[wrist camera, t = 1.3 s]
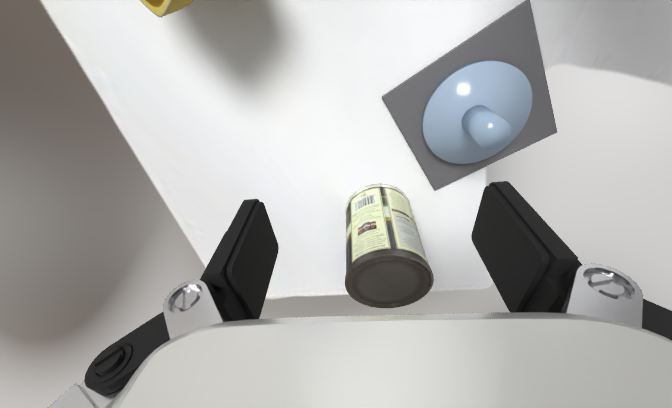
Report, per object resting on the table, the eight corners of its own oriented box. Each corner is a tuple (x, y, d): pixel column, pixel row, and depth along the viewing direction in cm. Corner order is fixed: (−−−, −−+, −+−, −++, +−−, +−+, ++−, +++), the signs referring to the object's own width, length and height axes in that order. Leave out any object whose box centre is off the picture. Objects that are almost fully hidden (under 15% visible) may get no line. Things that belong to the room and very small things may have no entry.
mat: (527, -1, 25) (529, -1, 25) (555, 130, 33) (557, 132, 33) (381, 96, 31) (382, 97, 31) (434, 188, 39) (434, 190, 39)
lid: (512, 33, 27) (548, 40, 22) (536, 127, 32) (570, 149, 28) (404, 102, 31) (415, 120, 26) (442, 174, 37) (457, 200, 32)
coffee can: (382, 241, 46) (394, 317, 35) (333, 216, 43) (328, 291, 32) (424, 203, 41) (453, 278, 30) (371, 171, 38) (381, 242, 26)
